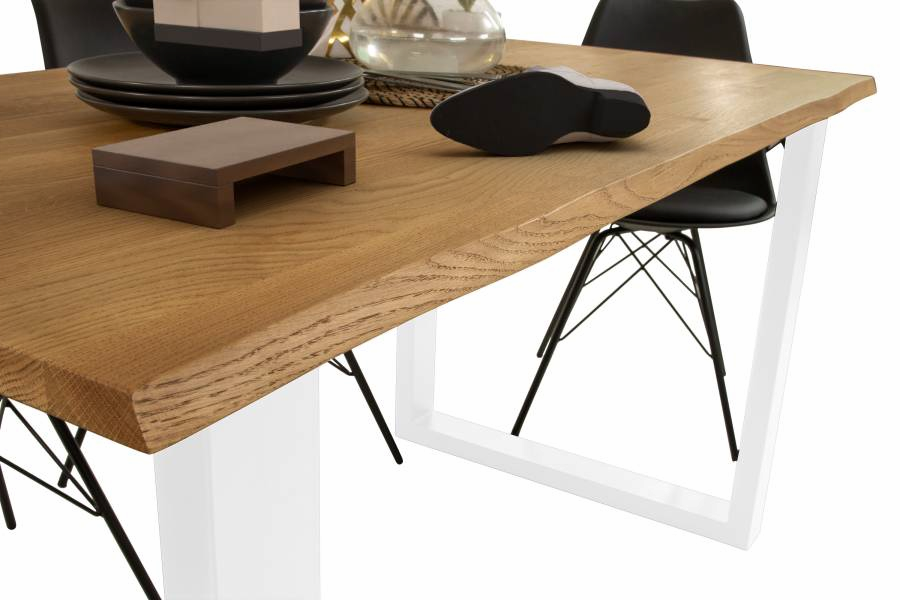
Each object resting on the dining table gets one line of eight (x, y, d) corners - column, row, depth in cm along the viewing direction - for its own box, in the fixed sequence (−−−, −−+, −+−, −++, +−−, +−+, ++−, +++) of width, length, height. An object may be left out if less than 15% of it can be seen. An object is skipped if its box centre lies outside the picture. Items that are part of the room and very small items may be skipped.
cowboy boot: (672, 82, 114) (587, 58, 137) (439, 64, 106) (389, 41, 129) (658, 164, 117) (577, 127, 140) (430, 152, 109) (383, 115, 132)
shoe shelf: (356, 182, 99) (355, 131, 97) (219, 229, 82) (216, 168, 81) (244, 164, 105) (242, 116, 103) (96, 204, 89) (90, 148, 87)
